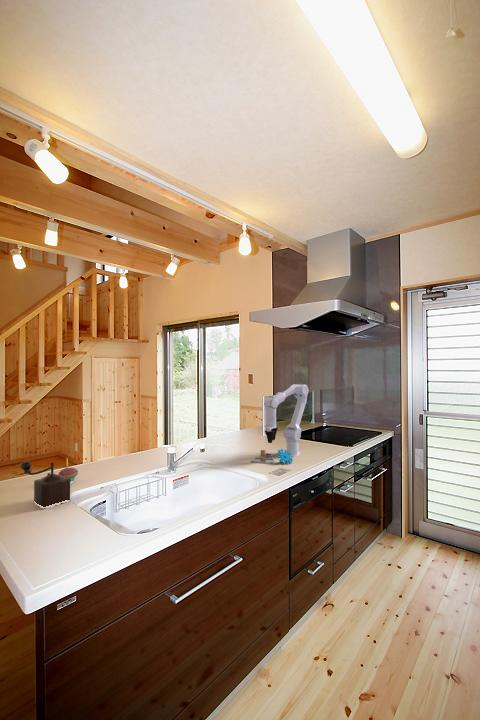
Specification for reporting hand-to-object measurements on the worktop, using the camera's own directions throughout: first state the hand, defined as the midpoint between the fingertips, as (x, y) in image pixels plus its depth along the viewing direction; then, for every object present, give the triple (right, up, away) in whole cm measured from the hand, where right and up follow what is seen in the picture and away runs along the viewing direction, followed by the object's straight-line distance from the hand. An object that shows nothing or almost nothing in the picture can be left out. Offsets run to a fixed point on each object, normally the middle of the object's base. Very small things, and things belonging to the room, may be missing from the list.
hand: (271, 441), depth 203 cm
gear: (+7, -11, -9) cm, 15 cm away
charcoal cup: (-2, -11, +3) cm, 11 cm away
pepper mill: (-98, -10, -64) cm, 117 cm away
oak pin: (-5, -10, -6) cm, 13 cm away
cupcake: (-101, -11, -39) cm, 109 cm away
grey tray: (-5, -10, -6) cm, 13 cm away
